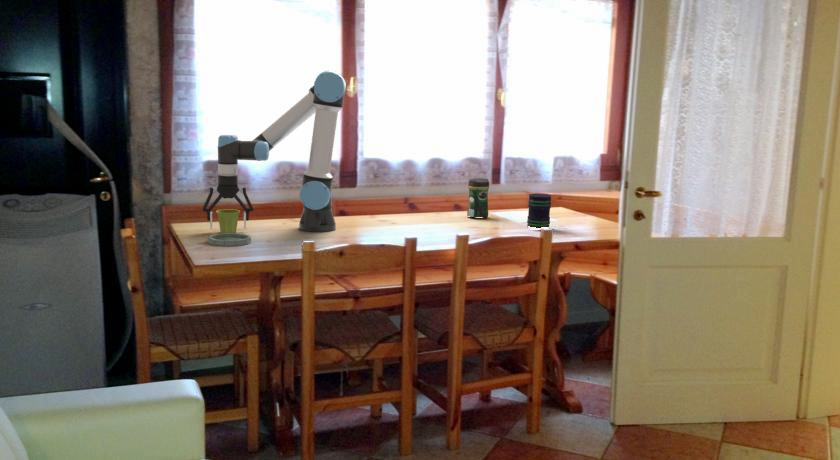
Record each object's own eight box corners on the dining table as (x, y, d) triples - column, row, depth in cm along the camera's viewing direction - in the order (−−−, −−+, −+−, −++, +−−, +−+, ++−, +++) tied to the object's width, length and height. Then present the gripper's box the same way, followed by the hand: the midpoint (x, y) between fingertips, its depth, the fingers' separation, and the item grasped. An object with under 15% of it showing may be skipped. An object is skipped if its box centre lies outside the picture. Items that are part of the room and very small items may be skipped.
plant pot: (228, 235, 316) (228, 213, 315) (211, 232, 321) (210, 211, 320) (245, 232, 324) (245, 211, 323) (228, 229, 329) (228, 208, 328)
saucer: (258, 240, 309) (258, 235, 309) (238, 247, 295) (238, 242, 294) (221, 236, 313) (221, 231, 313) (200, 244, 299) (200, 238, 298)
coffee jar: (480, 215, 387) (482, 177, 384) (490, 218, 381) (492, 179, 377) (464, 216, 382) (465, 177, 379) (473, 219, 376) (475, 179, 372)
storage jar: (553, 229, 356) (556, 195, 354) (541, 231, 349) (543, 197, 347) (535, 226, 363) (537, 193, 360) (522, 228, 356) (524, 194, 353)
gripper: (259, 173, 325) (259, 226, 329) (195, 173, 319) (196, 227, 323) (260, 176, 318) (260, 230, 322) (195, 175, 312) (196, 230, 316)
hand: (228, 228), depth 323 cm, fingers open, 12 cm apart
